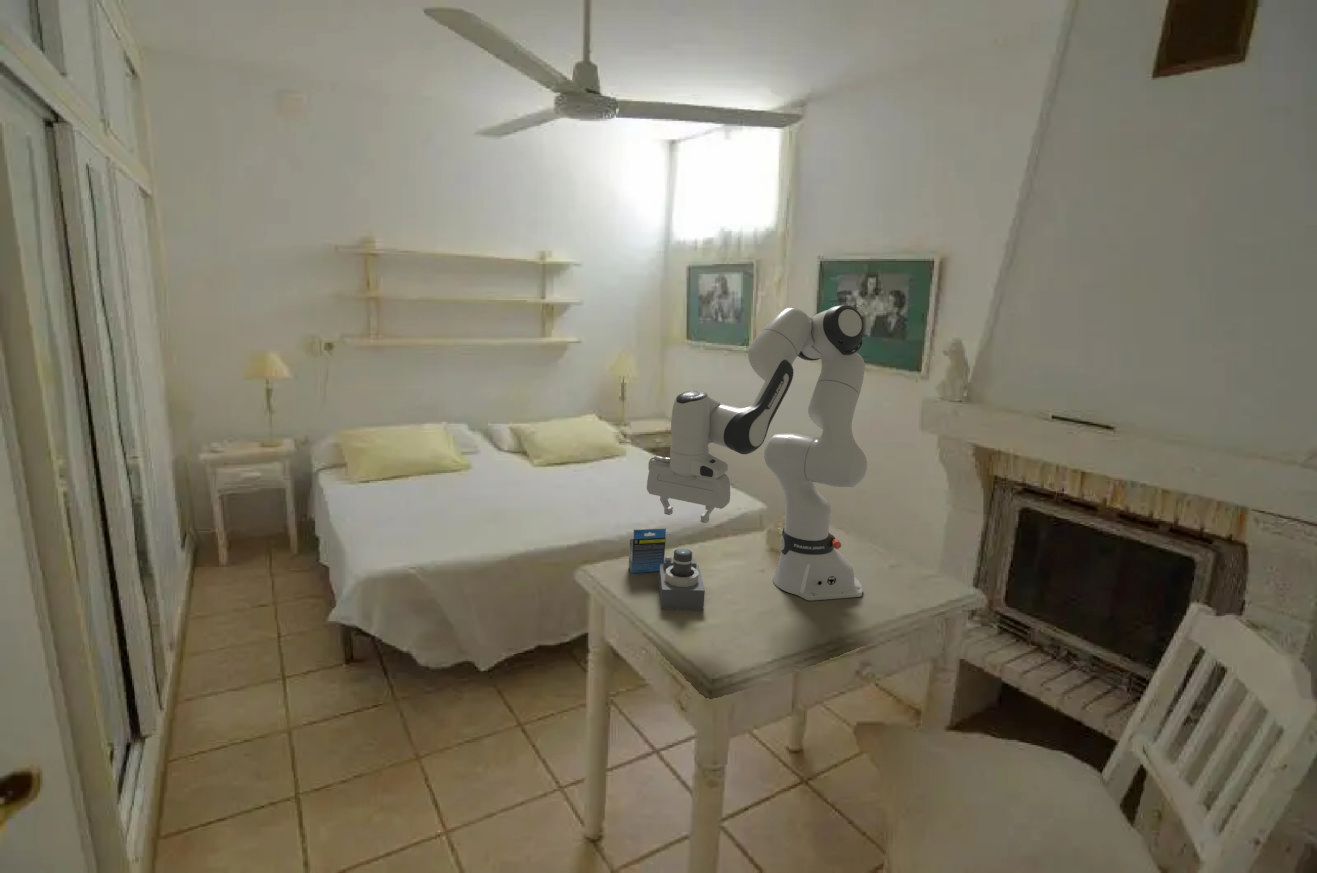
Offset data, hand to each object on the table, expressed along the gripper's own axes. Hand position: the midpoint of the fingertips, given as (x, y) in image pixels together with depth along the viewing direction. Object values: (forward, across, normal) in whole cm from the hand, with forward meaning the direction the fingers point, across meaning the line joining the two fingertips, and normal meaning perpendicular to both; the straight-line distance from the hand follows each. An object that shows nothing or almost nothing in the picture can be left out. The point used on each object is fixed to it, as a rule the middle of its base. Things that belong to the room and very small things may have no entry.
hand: (686, 517), depth 156 cm
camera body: (+21, -1, 0) cm, 21 cm away
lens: (+16, 0, -1) cm, 16 cm away
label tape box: (+21, -15, +9) cm, 27 cm away
